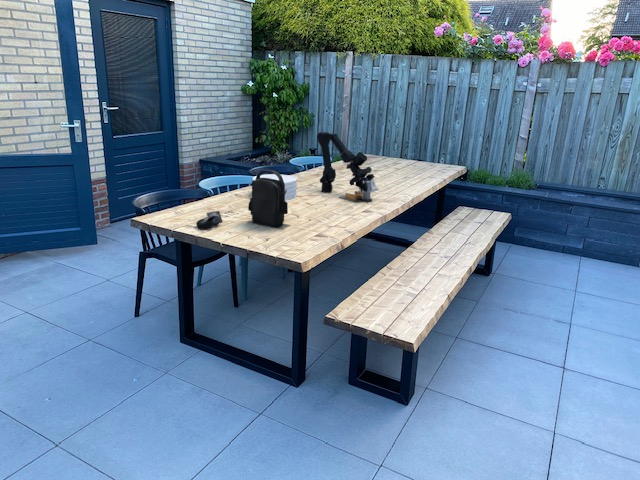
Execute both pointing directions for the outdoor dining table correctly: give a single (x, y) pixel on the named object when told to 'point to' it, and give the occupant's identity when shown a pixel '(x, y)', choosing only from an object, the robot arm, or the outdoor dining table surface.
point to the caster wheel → (210, 220)
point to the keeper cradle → (353, 196)
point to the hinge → (371, 186)
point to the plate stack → (289, 184)
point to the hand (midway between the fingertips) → (368, 190)
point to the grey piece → (367, 192)
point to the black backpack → (268, 201)
